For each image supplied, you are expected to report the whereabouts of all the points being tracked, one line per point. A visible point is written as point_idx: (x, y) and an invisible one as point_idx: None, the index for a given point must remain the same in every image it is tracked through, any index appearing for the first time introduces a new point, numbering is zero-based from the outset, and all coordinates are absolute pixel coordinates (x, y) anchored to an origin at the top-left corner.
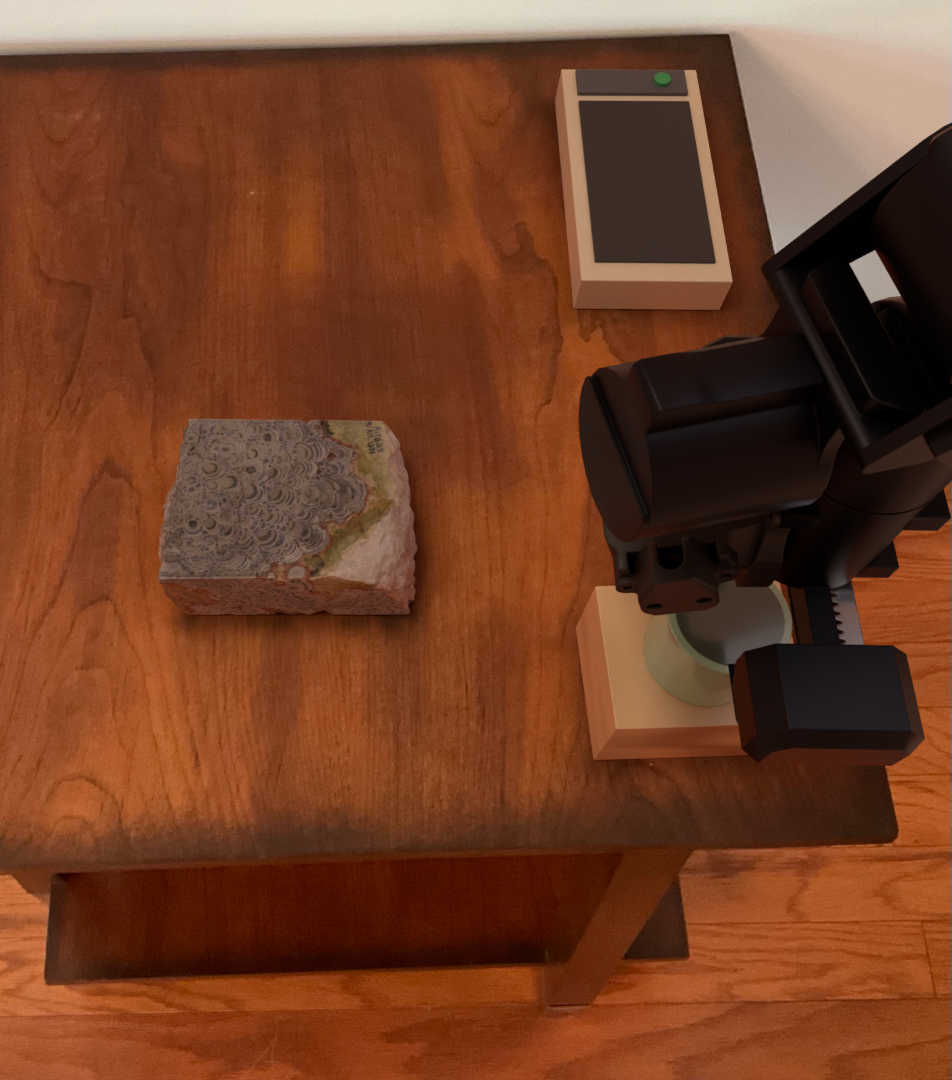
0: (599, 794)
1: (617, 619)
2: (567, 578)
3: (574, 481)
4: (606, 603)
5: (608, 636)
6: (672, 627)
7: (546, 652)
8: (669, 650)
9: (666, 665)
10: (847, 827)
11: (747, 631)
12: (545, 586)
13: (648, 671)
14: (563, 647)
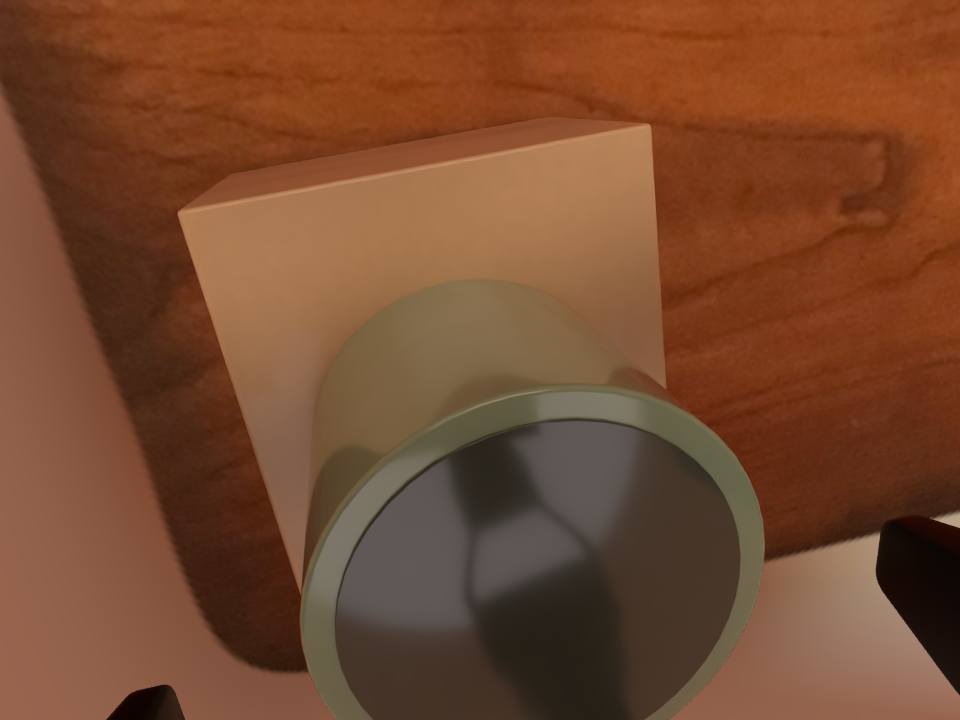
0: (148, 193)
1: (547, 198)
2: (668, 92)
3: (896, 99)
4: (596, 161)
5: (488, 172)
6: (470, 415)
7: (480, 45)
8: (399, 389)
9: (374, 366)
10: (220, 642)
11: (489, 670)
12: (647, 36)
13: (392, 299)
14: (498, 88)
